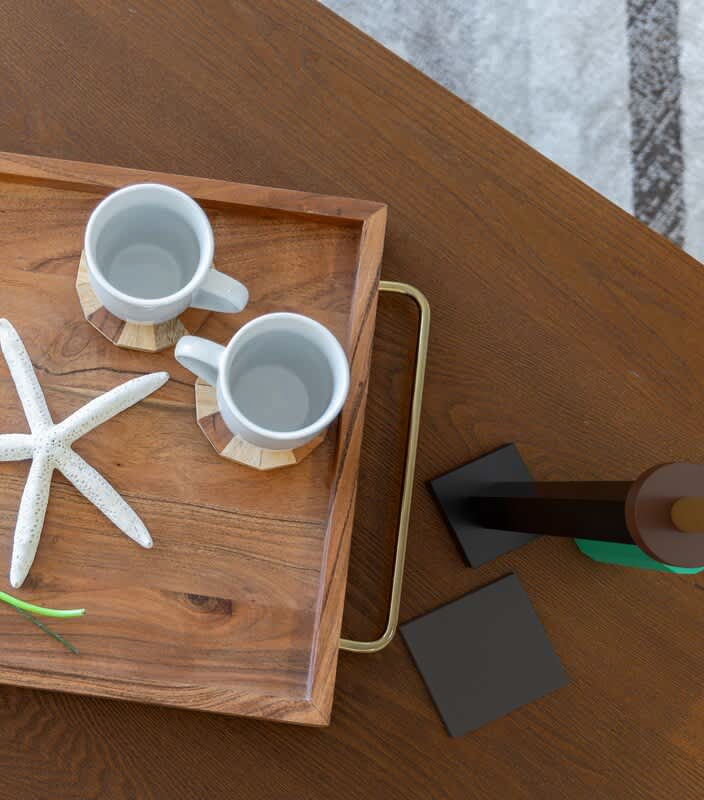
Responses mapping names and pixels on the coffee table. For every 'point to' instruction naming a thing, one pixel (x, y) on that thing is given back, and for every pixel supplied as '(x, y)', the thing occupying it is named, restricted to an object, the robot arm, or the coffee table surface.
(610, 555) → the candle
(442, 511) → the stand
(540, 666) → the mat
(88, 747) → the coffee table surface
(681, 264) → the coffee table surface
